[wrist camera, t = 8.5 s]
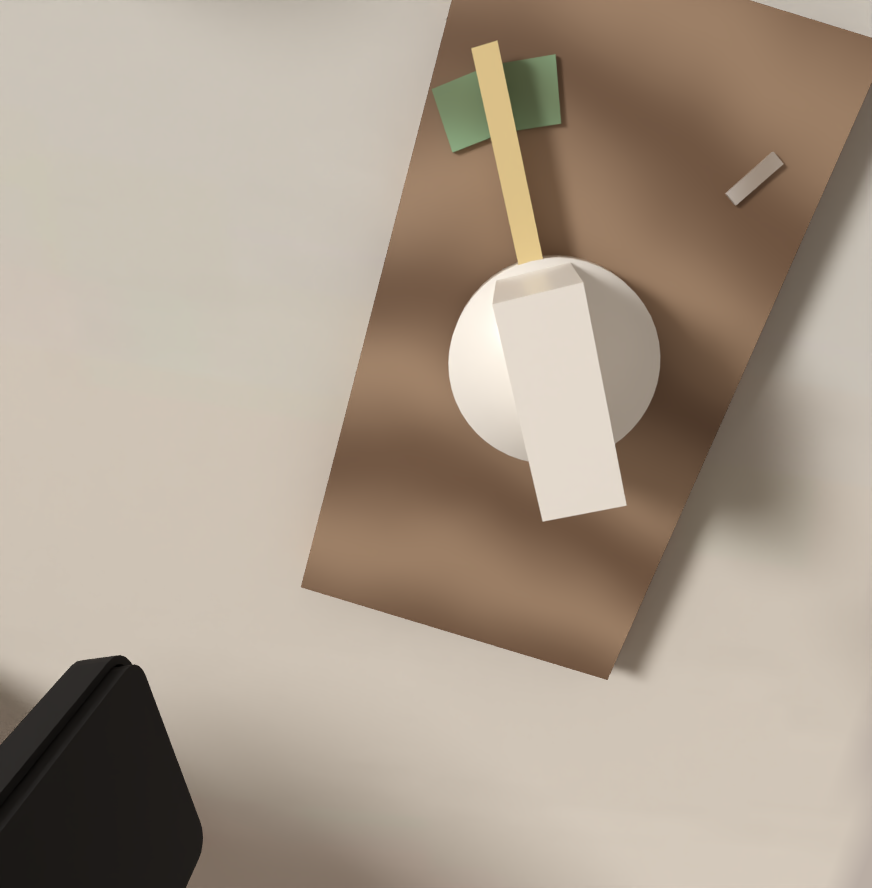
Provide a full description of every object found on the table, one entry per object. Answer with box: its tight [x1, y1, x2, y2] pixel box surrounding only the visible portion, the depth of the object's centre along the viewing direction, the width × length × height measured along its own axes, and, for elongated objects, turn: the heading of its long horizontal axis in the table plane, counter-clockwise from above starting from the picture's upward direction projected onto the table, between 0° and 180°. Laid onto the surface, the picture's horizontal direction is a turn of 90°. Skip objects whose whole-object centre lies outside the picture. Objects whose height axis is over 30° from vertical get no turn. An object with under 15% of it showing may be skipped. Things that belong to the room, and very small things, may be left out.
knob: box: [448, 41, 660, 521], centre depth 23 cm, size 14×7×6 cm, turn 14°
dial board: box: [301, 0, 872, 680], centre depth 28 cm, size 24×13×2 cm, turn 164°
